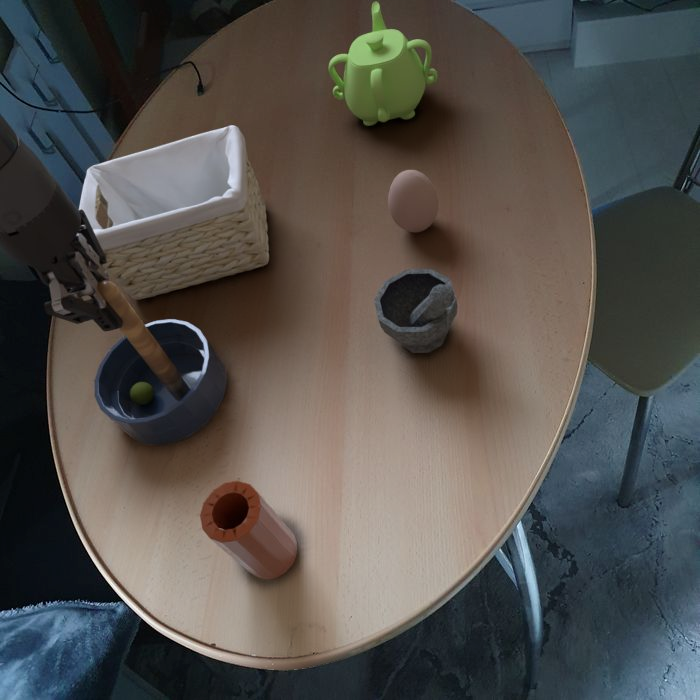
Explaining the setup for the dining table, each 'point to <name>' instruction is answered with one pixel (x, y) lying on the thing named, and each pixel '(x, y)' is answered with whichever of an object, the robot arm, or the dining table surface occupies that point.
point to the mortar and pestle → (417, 309)
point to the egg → (413, 201)
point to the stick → (144, 341)
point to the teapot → (383, 74)
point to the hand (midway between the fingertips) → (115, 316)
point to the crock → (248, 530)
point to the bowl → (163, 411)
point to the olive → (142, 393)
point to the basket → (178, 213)
